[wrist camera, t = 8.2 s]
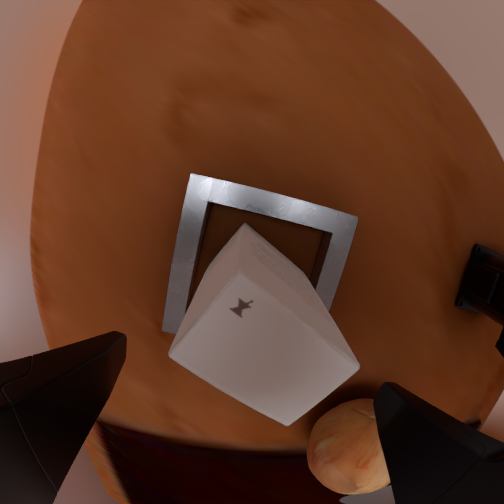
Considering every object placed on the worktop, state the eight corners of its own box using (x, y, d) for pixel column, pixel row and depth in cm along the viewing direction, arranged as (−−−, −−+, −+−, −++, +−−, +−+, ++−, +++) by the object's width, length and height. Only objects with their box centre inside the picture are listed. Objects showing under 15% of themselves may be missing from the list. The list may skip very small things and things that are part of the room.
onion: (400, 372, 23) (447, 438, 13) (373, 436, 25) (400, 497, 16) (308, 381, 23) (333, 467, 13) (294, 445, 25) (305, 518, 15)
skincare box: (207, 265, 21) (160, 354, 9) (244, 220, 20) (238, 264, 8) (269, 314, 21) (287, 430, 10) (307, 273, 21) (367, 365, 9)
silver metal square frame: (348, 214, 20) (358, 217, 18) (304, 349, 22) (309, 362, 20) (196, 175, 19) (190, 173, 17) (168, 319, 21) (161, 330, 20)
